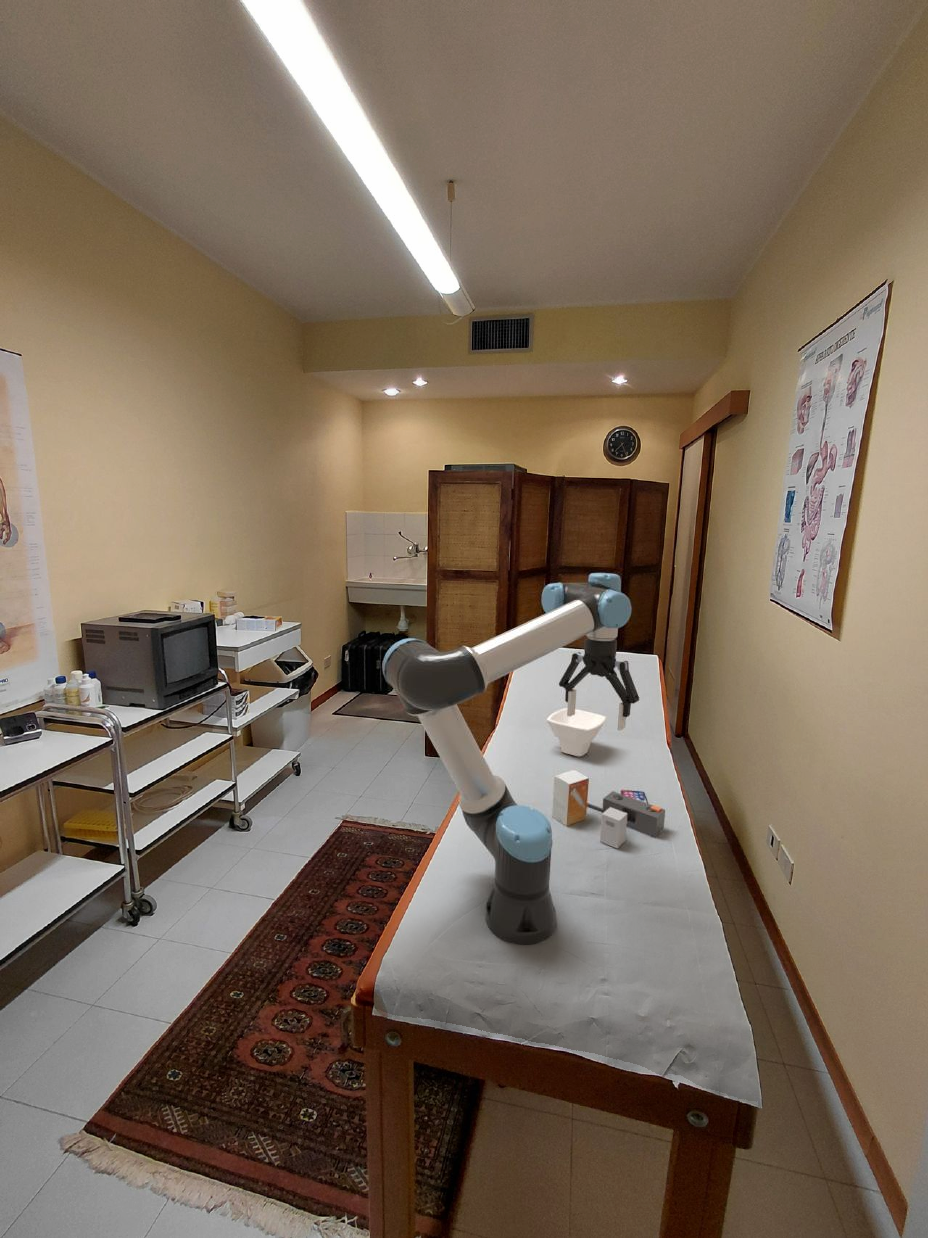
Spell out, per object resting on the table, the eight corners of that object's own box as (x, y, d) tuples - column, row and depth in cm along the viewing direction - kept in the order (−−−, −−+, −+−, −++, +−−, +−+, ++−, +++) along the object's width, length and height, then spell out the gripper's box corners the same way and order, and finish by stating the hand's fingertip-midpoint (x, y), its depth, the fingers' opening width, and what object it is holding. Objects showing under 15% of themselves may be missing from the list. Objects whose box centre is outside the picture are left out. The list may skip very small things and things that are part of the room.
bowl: (562, 739, 218) (564, 706, 216) (608, 751, 207) (611, 716, 205) (540, 754, 203) (542, 718, 201) (589, 768, 192) (591, 731, 190)
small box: (566, 827, 154) (569, 784, 152) (551, 817, 159) (553, 775, 157) (586, 819, 158) (589, 777, 156) (571, 809, 164) (573, 769, 161)
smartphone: (626, 813, 161) (620, 789, 176) (626, 815, 162) (620, 792, 176) (653, 815, 160) (644, 791, 175) (652, 818, 160) (644, 794, 175)
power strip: (655, 838, 149) (657, 816, 148) (577, 807, 165) (579, 787, 164) (663, 829, 154) (665, 807, 153) (587, 800, 169) (588, 780, 168)
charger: (617, 848, 143) (619, 820, 142) (599, 841, 147) (601, 814, 145) (630, 835, 150) (633, 808, 149) (613, 828, 153) (615, 802, 152)
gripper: (658, 643, 125) (650, 730, 129) (563, 628, 141) (559, 706, 145) (645, 648, 119) (637, 739, 123) (548, 632, 135) (544, 713, 139)
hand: (595, 721), depth 134 cm, fingers open, 13 cm apart
